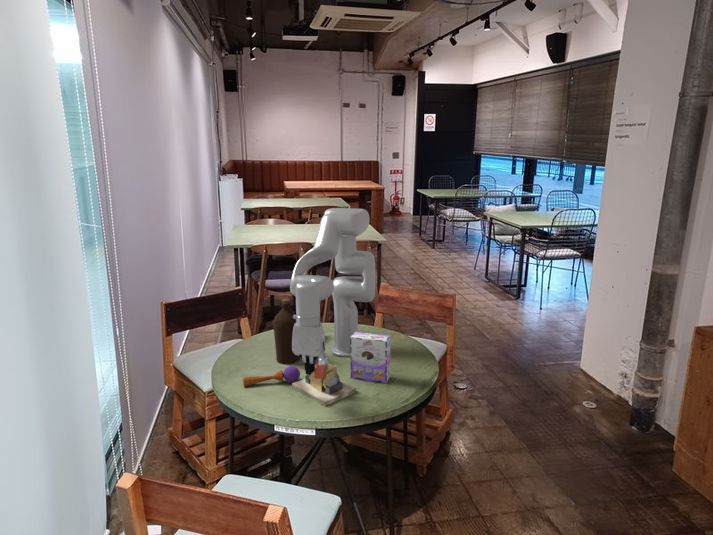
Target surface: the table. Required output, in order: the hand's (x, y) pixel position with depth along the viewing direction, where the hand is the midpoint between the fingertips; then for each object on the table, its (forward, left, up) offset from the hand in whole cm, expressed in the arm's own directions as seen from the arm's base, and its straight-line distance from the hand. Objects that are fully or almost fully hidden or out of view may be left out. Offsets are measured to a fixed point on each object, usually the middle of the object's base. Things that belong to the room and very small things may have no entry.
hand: (309, 372), depth 161 cm
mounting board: (-8, -3, -10) cm, 14 cm away
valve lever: (-4, +1, -2) cm, 5 cm away
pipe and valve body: (-8, -3, -9) cm, 13 cm away
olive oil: (-14, -32, -11) cm, 37 cm away
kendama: (+2, -20, -11) cm, 23 cm away
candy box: (-26, +2, -11) cm, 28 cm away
